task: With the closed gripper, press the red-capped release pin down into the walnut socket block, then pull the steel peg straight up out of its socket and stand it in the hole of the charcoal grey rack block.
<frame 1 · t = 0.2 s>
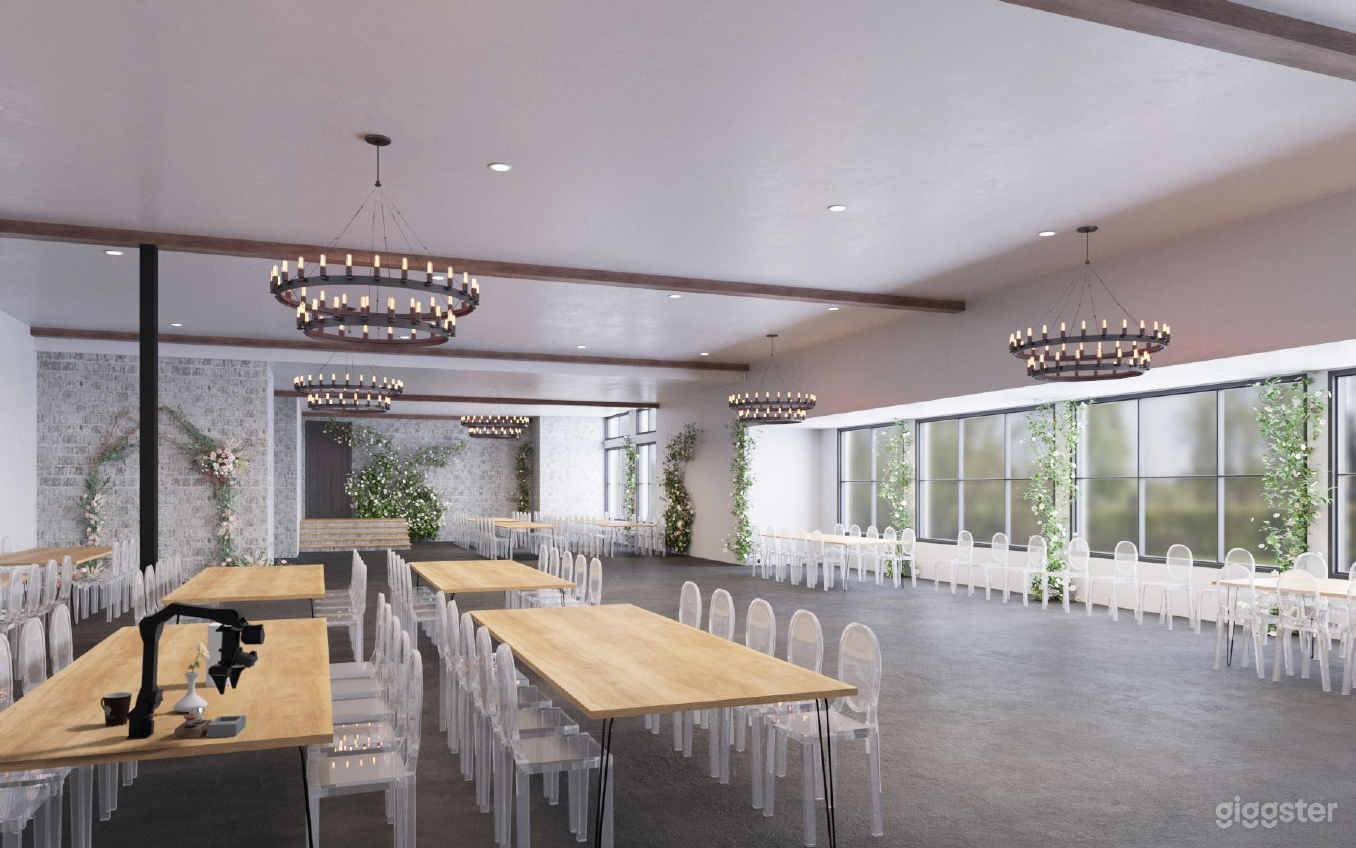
hand: (228, 691, 313), 14 cm above the table, tool pointing down, fingers open, 9 cm apart
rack: (226, 732, 313), on the table
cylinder: (222, 684, 391), on the table
flower in vase: (191, 711, 343), on the table
coffee mug: (115, 724, 324), on the table
socket block: (193, 733, 311), on the table
peg: (195, 731, 313), resting in socket block
release pin: (190, 721, 308), point 5 cm above the table, slide at 0.0 cm
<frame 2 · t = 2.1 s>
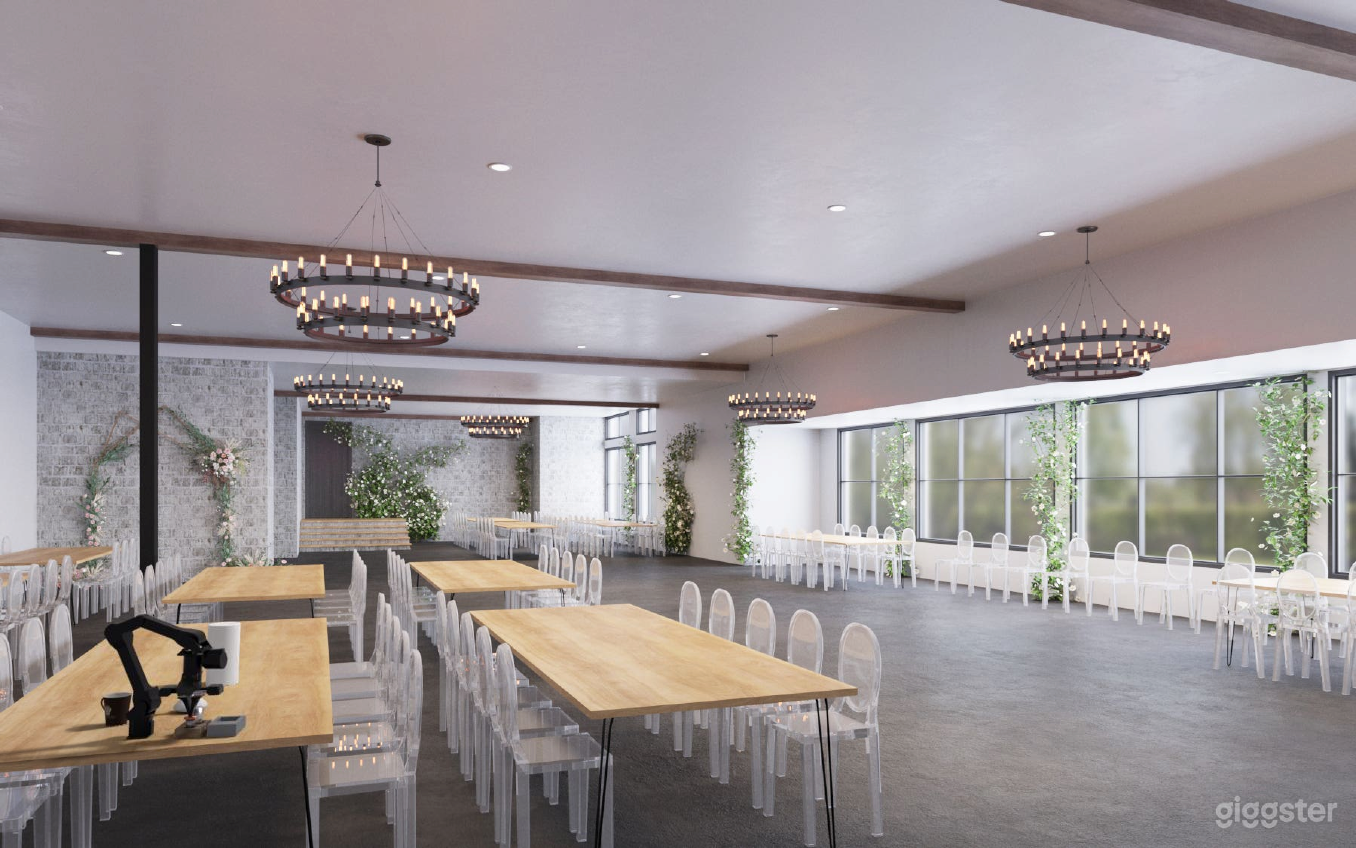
hand: (190, 716, 308), 6 cm above the table, tool pointing down, fingers closed, pressing on release pin
release pin: (190, 722, 308), point 4 cm above the table, slide at 0.3 cm, touching gripper
everything else where it was.
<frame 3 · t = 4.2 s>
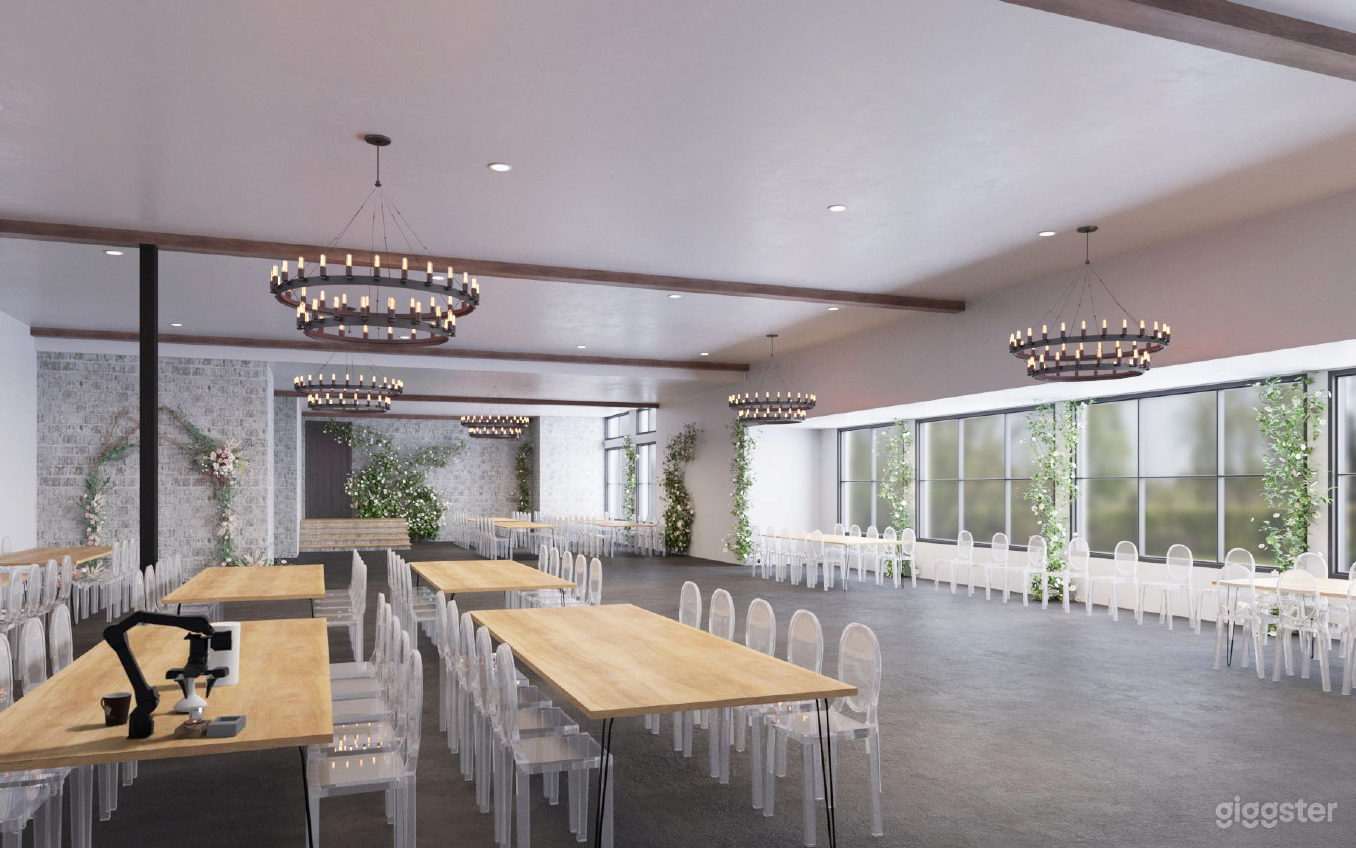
hand: (196, 698, 314), 11 cm above the table, tool pointing down, fingers open, 6 cm apart
release pin: (190, 727, 308), point 3 cm above the table, slide at 1.8 cm
everything else where it was.
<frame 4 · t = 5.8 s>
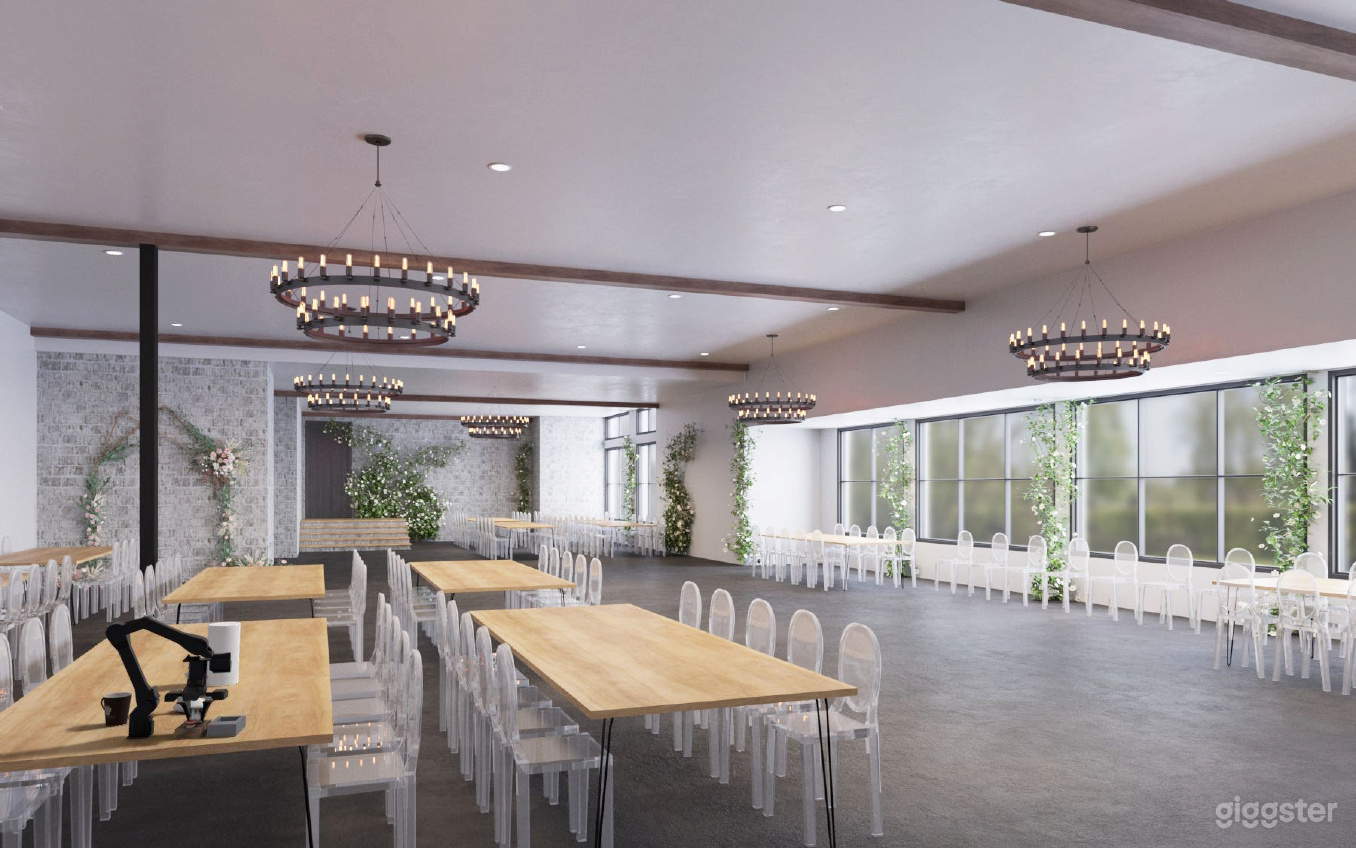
hand: (195, 721, 314), 4 cm above the table, tool pointing down, fingers closed on peg, 4 cm apart
peg: (195, 731, 313), resting in socket block, touching gripper
everything else where it was.
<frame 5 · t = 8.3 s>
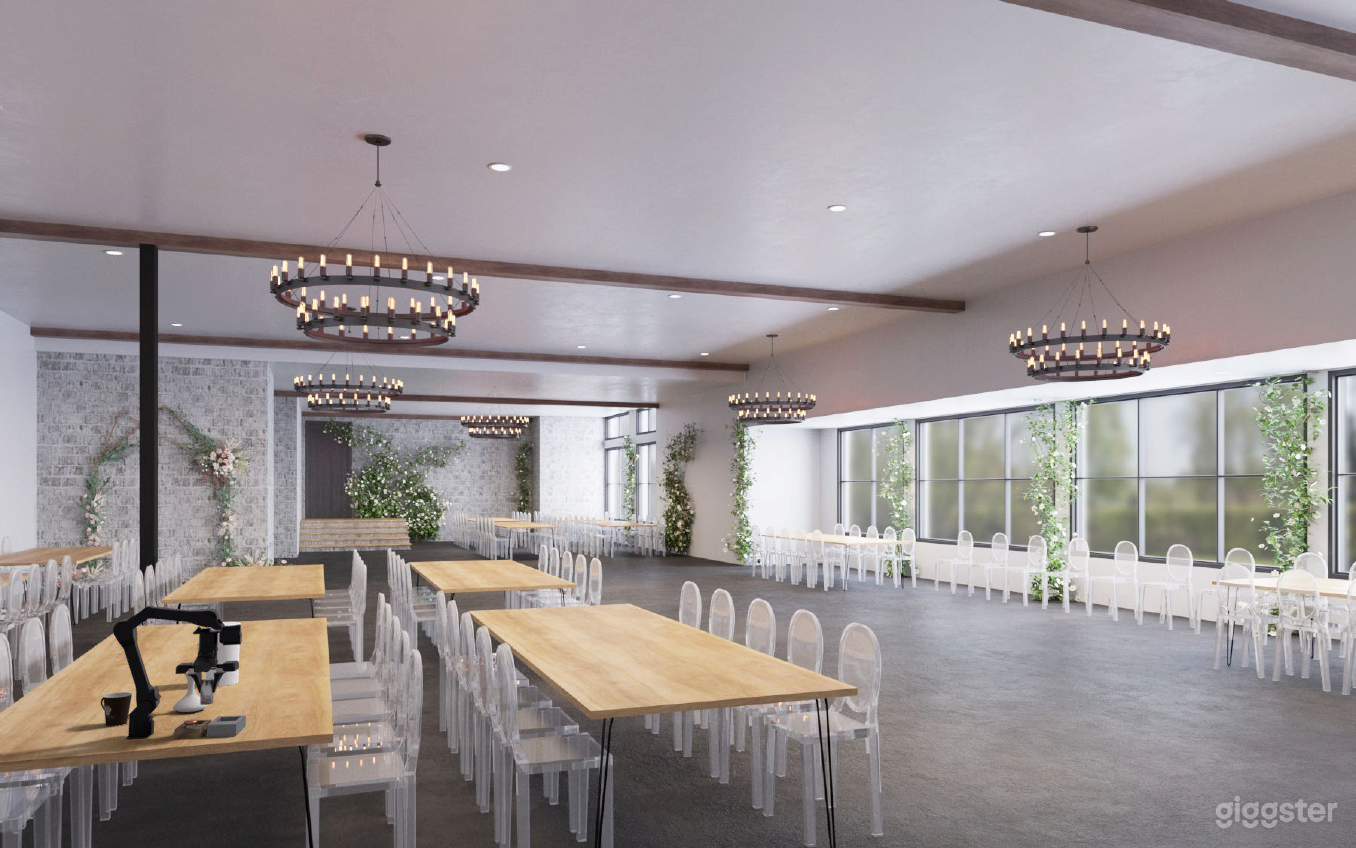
hand: (207, 693, 315), 13 cm above the table, tool pointing down, fingers closed on peg, 4 cm apart
peg: (206, 703, 315), point 9 cm above the table, touching gripper
everything else where it was.
when the fingers open (5 cm above the table, at t = 10.7 s): peg drops 2 cm, resting in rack.
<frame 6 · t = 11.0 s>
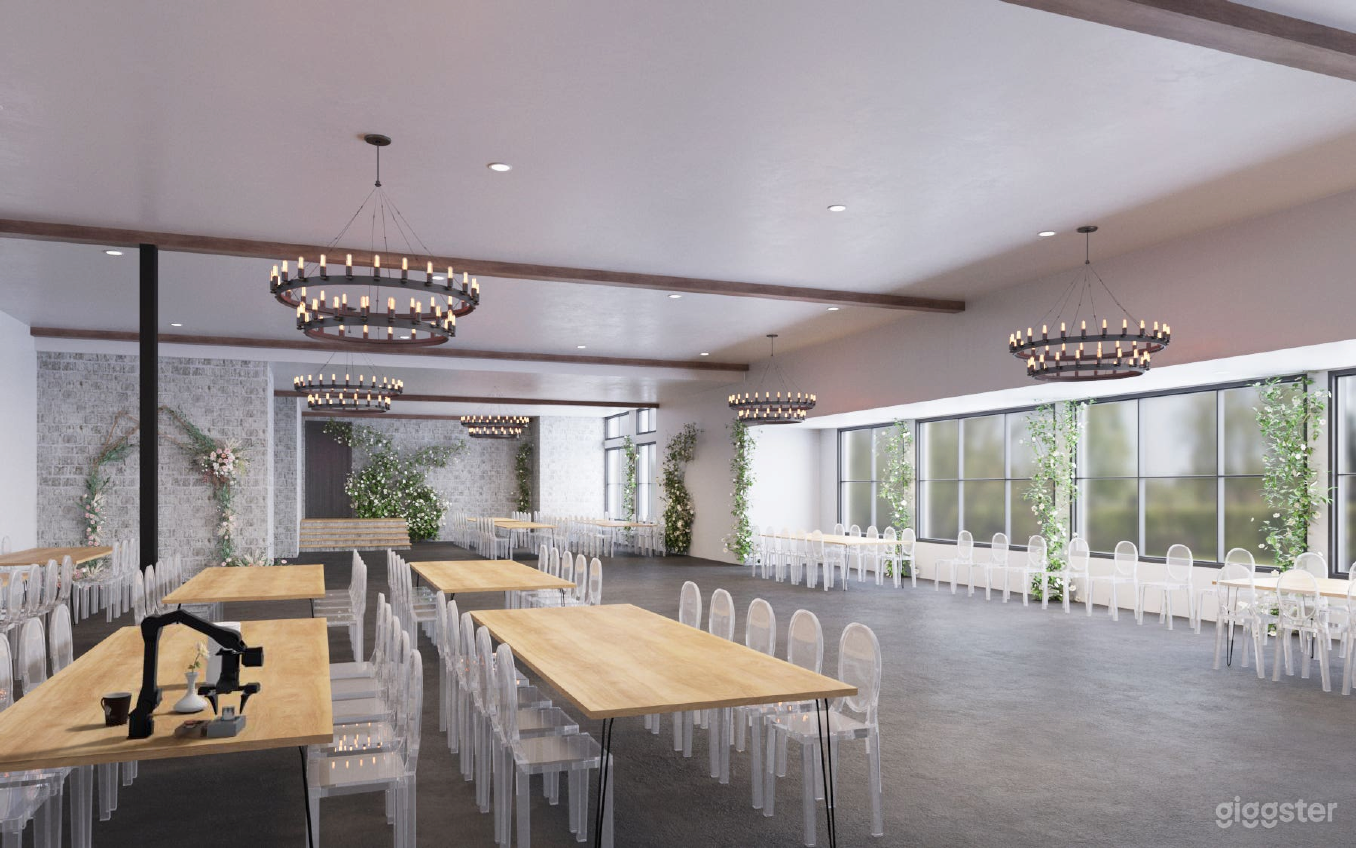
hand: (228, 714, 315), 5 cm above the table, tool pointing down, fingers open, 7 cm apart
peg: (227, 731, 315), resting in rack
everything else where it was.
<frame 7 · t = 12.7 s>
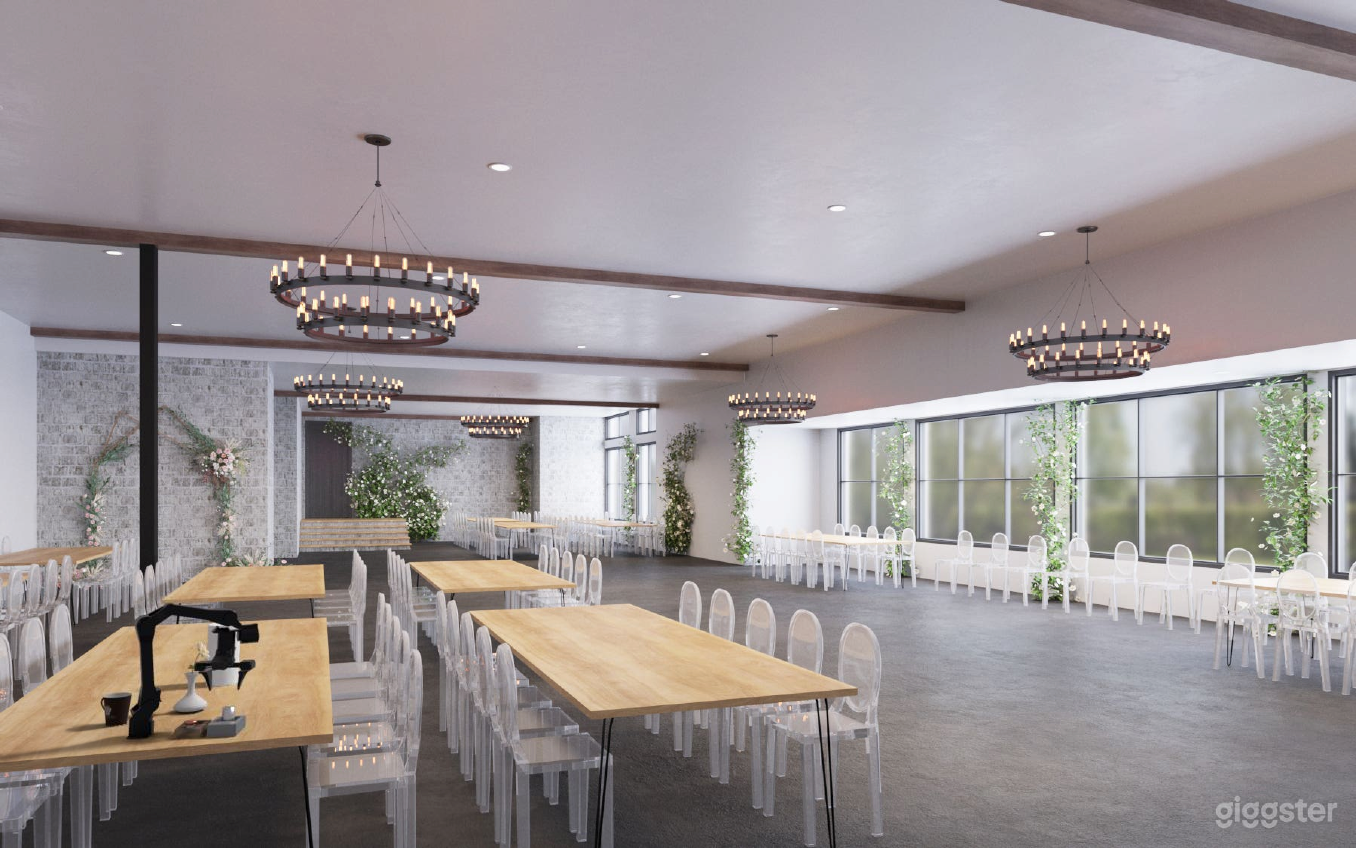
hand: (224, 690, 323), 12 cm above the table, tool pointing down, fingers open, 9 cm apart
nothing on the table moved.
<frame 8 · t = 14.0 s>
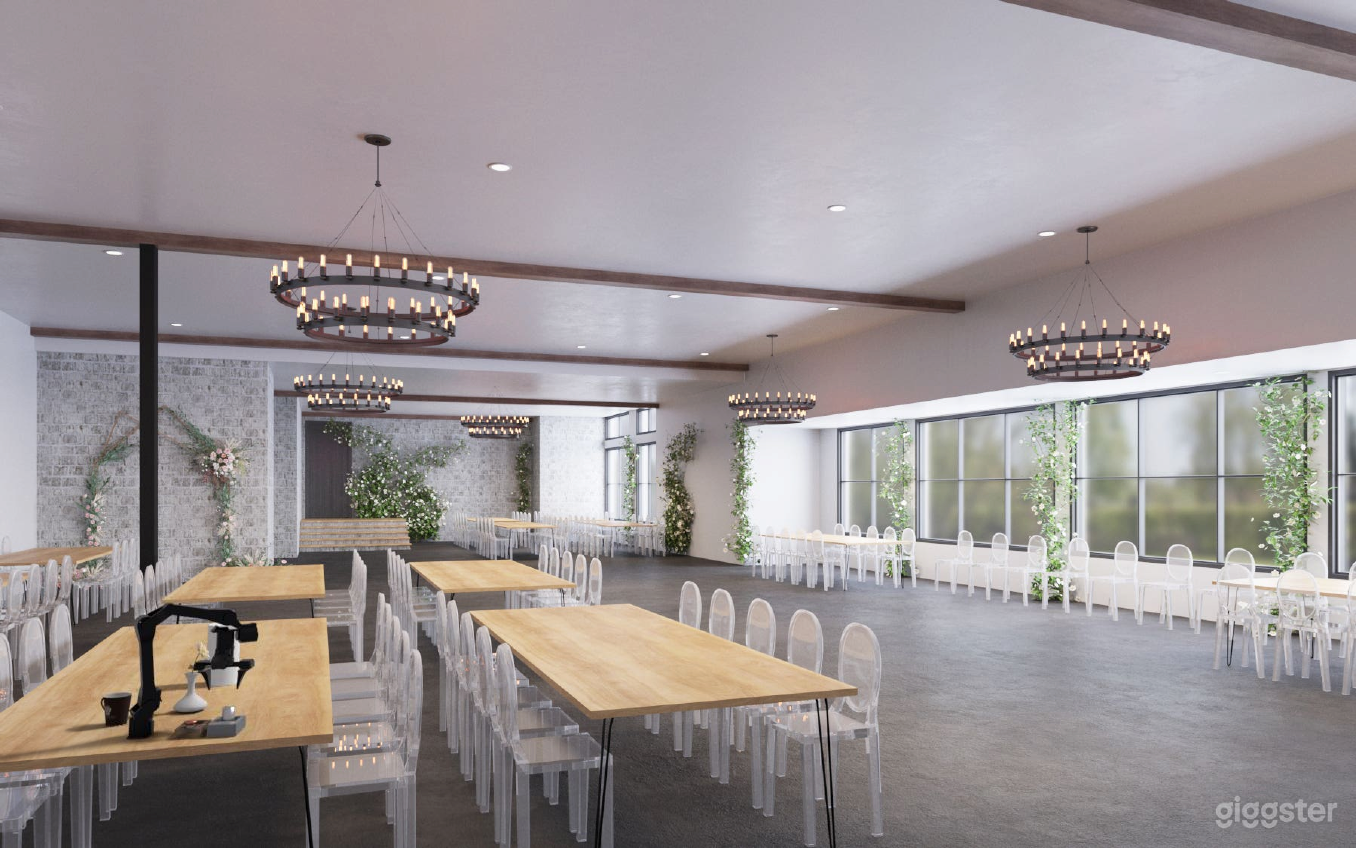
hand: (223, 689, 324), 12 cm above the table, tool pointing down, fingers open, 9 cm apart
nothing on the table moved.
at the end: release pin slide at 1.8 cm; peg 0.1 cm from the target spot on the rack, point 0.0 cm above the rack's base; peg tilted 0° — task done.
